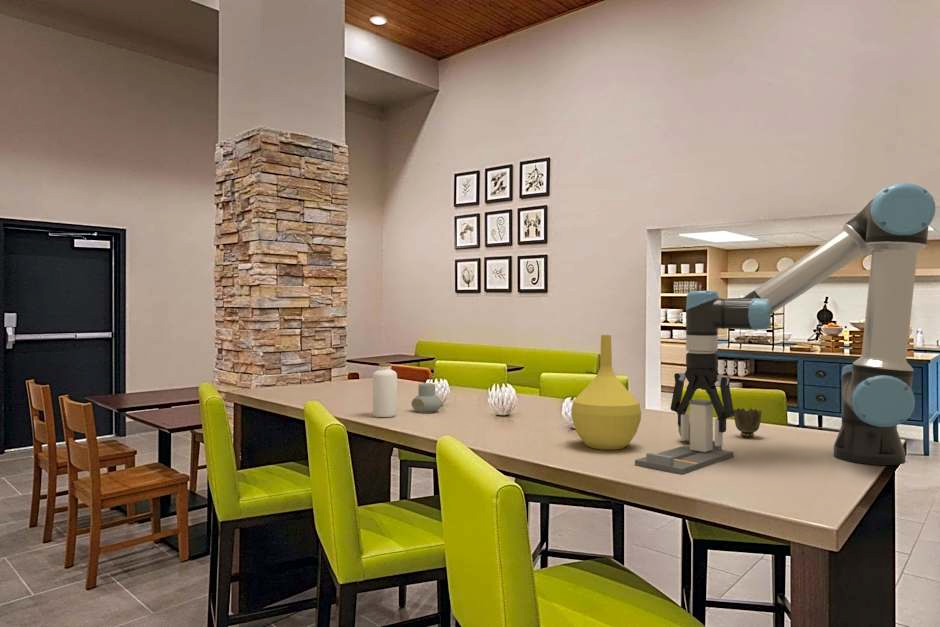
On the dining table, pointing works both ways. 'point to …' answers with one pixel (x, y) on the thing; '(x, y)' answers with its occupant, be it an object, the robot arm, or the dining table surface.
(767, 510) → the dining table surface
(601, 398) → the vase
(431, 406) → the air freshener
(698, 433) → the fader tab
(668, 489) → the dining table surface
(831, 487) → the dining table surface
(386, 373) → the white bottle
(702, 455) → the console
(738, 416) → the cup
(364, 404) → the dining table surface
